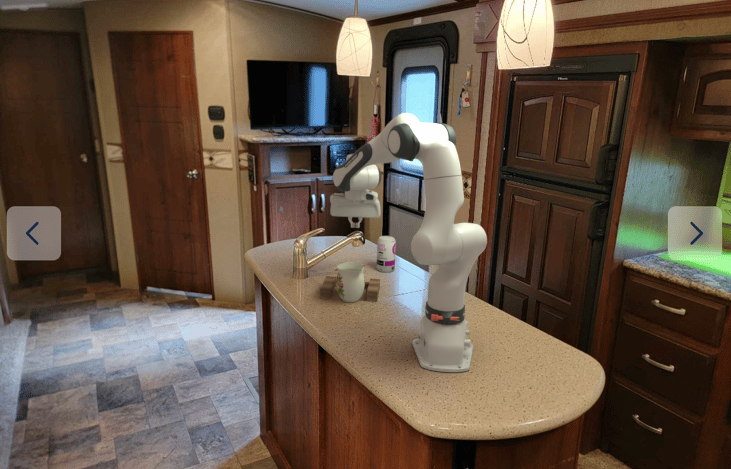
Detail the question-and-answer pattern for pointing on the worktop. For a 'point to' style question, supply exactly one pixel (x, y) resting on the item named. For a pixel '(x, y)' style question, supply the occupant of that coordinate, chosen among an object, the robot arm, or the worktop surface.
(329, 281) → the holder
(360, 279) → the pitcher
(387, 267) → the supplement can
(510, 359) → the worktop surface
